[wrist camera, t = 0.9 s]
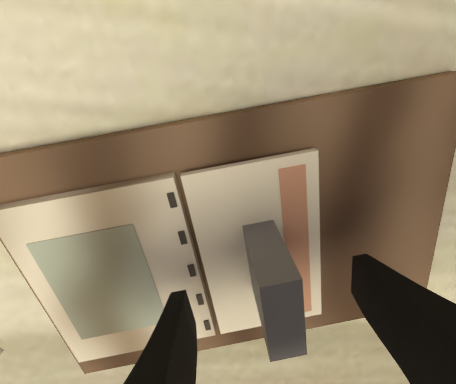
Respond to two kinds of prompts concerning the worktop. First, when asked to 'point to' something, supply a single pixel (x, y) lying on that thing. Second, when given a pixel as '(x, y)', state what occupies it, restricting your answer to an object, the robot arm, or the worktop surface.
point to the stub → (261, 244)
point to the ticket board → (181, 220)
